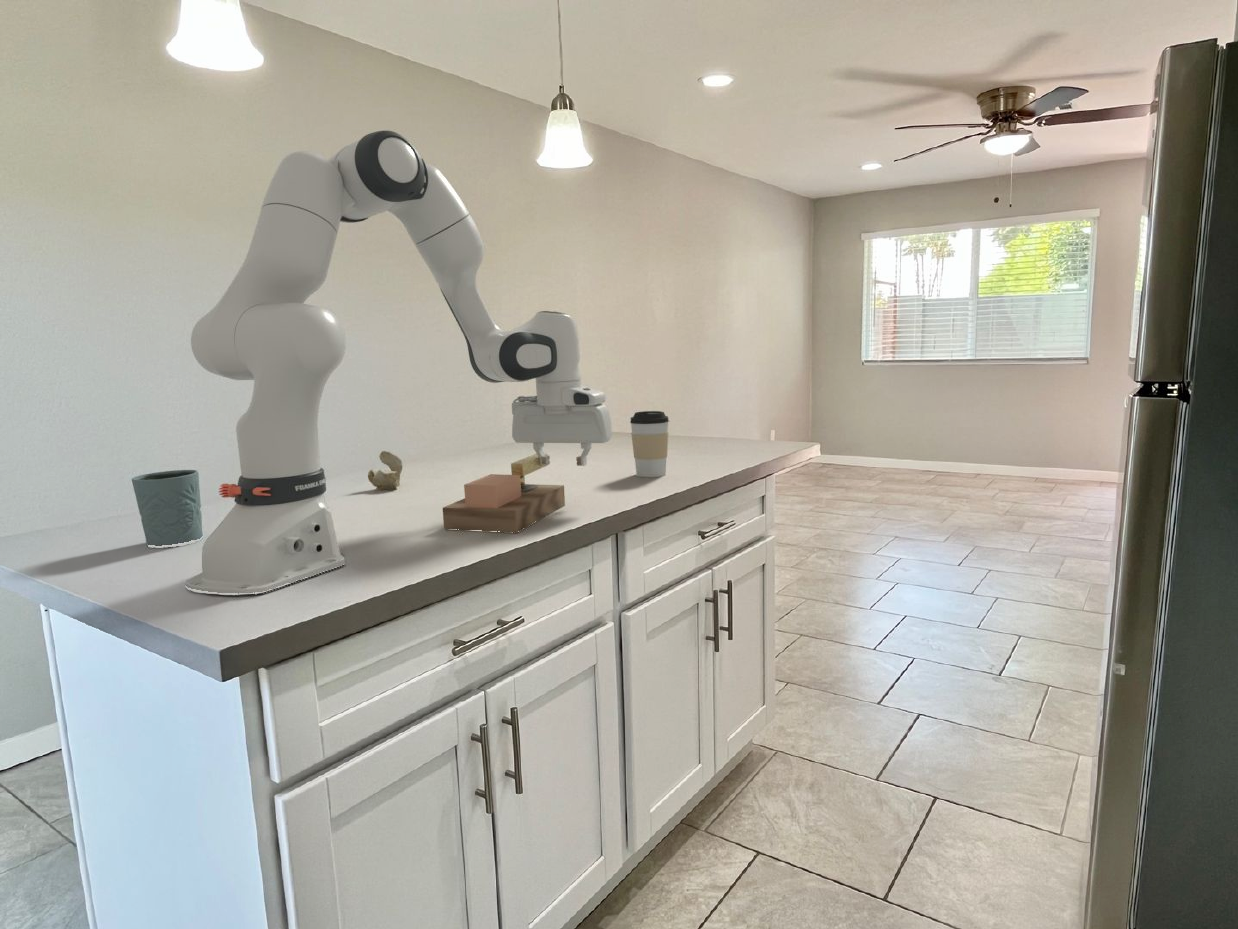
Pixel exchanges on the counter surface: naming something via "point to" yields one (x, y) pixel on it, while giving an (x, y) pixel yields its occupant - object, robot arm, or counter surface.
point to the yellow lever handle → (526, 467)
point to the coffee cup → (650, 443)
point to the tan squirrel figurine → (387, 472)
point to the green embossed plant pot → (169, 506)
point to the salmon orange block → (492, 491)
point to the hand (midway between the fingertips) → (563, 465)
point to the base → (507, 511)
